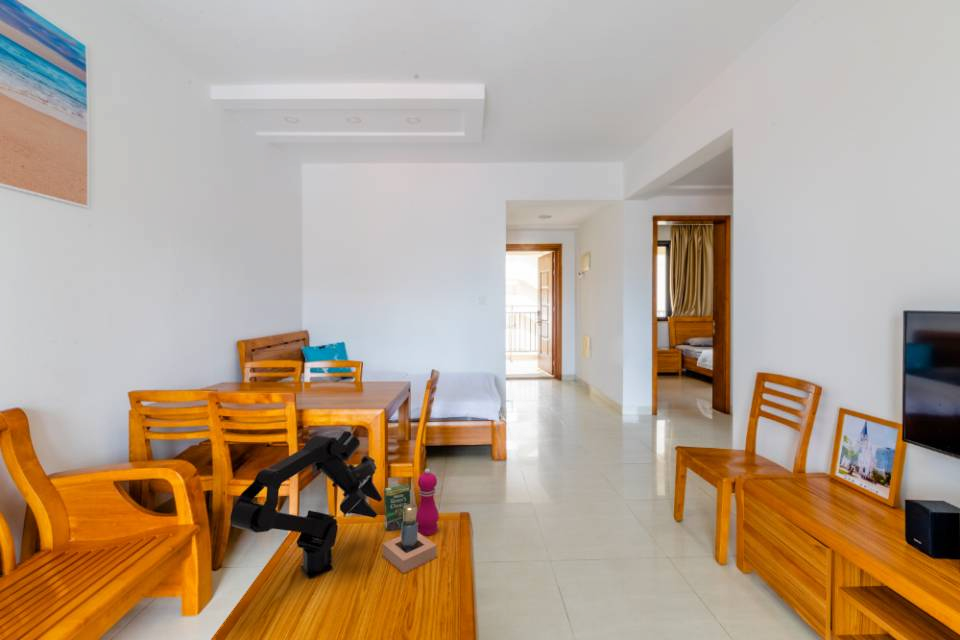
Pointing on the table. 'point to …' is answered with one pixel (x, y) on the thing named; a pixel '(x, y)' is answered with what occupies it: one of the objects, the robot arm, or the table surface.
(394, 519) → the coffee box
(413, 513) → the tube
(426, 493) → the pepper mill
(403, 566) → the socket block
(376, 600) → the table surface
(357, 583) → the table surface
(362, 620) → the table surface
